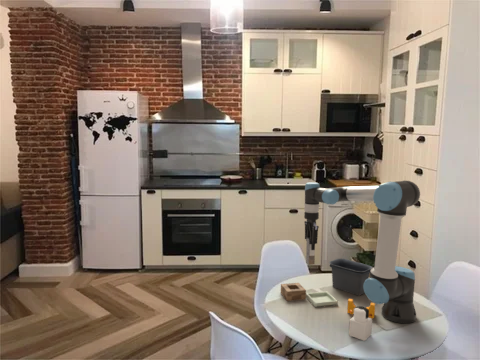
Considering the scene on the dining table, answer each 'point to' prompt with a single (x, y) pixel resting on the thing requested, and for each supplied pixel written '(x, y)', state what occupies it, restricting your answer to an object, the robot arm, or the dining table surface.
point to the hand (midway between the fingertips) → (310, 254)
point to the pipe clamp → (370, 308)
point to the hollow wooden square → (293, 291)
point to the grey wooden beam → (309, 259)
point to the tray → (321, 299)
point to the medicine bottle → (360, 323)
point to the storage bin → (349, 275)
